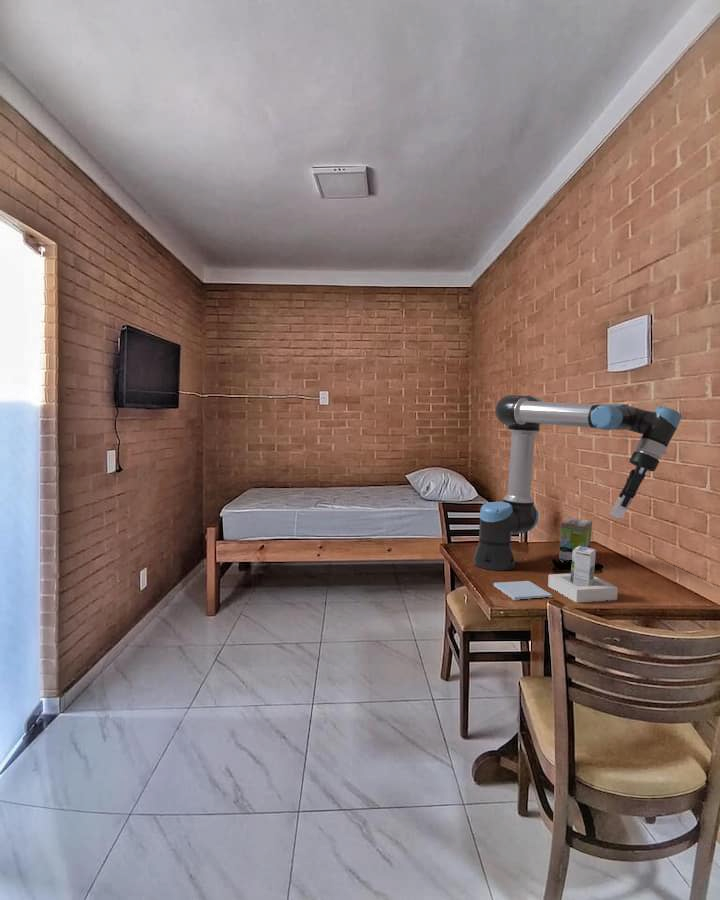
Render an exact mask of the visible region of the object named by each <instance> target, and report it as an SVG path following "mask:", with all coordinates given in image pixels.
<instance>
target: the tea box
mask: <svg viewBox="0 0 720 900" xmlns="http://www.w3.org/2000/svg"><path fill="white" fill-rule="evenodd" d="M592 525H593V520H589V519H588V520H586V519H580V518H579V519H578V518H570V517H567V518H566V519H565V520H564V521H562V522H561V525H560V526H561V528H560V529H561V530H560V539H559V540H560V541H559V553H558V558H559V559H560V560H565V561H569V560H572V552H573V549H575V548H576V547H578V546H579V547H587V548H591V542H592V530H593V529H592V528H593V526H592ZM559 559H558V560H559Z"/></svg>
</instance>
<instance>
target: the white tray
mask: <svg viewBox="0 0 720 900" xmlns="http://www.w3.org/2000/svg"><path fill="white" fill-rule="evenodd" d="M570 578H571V572H570V573H569V572H568V573H553V574H548V578H547V579H548V582H547V583H548V584H547V586H548V587H549V588H550V589H552V590H554V591H555V590H556V591H555V592H557V591H558V592H557V593H558V594H561V595H562V594H563V595H562V596H564V597H565V598H567V597H568V599H569V600H571V601H573V602H574V603H577V604H579V603H590V602H591V603H593V601H594V602H606V600H608V601H617V600H618V591H619V589H618V588H619V587H617V586H616V585H614V584H612V583H610V582H608V581H605V580H604V579H601V578H599V577H596V576H595V575H594V581H593V586H581V587H579V586H577V585H575V584H573V583H571V582H570Z"/></svg>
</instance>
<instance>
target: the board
mask: <svg viewBox="0 0 720 900" xmlns="http://www.w3.org/2000/svg"><path fill="white" fill-rule="evenodd" d="M493 586H494V587H495V588H496V589H497V590H499V591H500V590H501V591H500V592H502V593H503V594H505V595H506V596H507V595H508V597H509V598H510V597H511V598H510V599H512V600H513V601H521V600H520V599H528V600H532V599H531V598H540V597H549V598H548V599H552V598H553V595H552V594H551V593H550V592H548V591H546V590H545V589H543V588H541V587H540V586H538V585H537V584H535V583H533V582H531V581H530V580H521V581H517V580H516V581H505V582H503V581H502V582H501V581H499V582H493Z"/></svg>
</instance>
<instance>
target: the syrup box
mask: <svg viewBox="0 0 720 900" xmlns="http://www.w3.org/2000/svg"><path fill="white" fill-rule="evenodd" d="M596 553H597V550H596V549H595V548H591V547H590V548H587V547H579V546H578V547H576V548H575V549H573V552H572V561H571V566H570V567H571V568H570V573H571V578H570V582H571V583H573V584H575V585H577V586H579V587H581V586H593V581H594V576H595V568H596V567H595V566H596V565H595V564H596Z"/></svg>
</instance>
